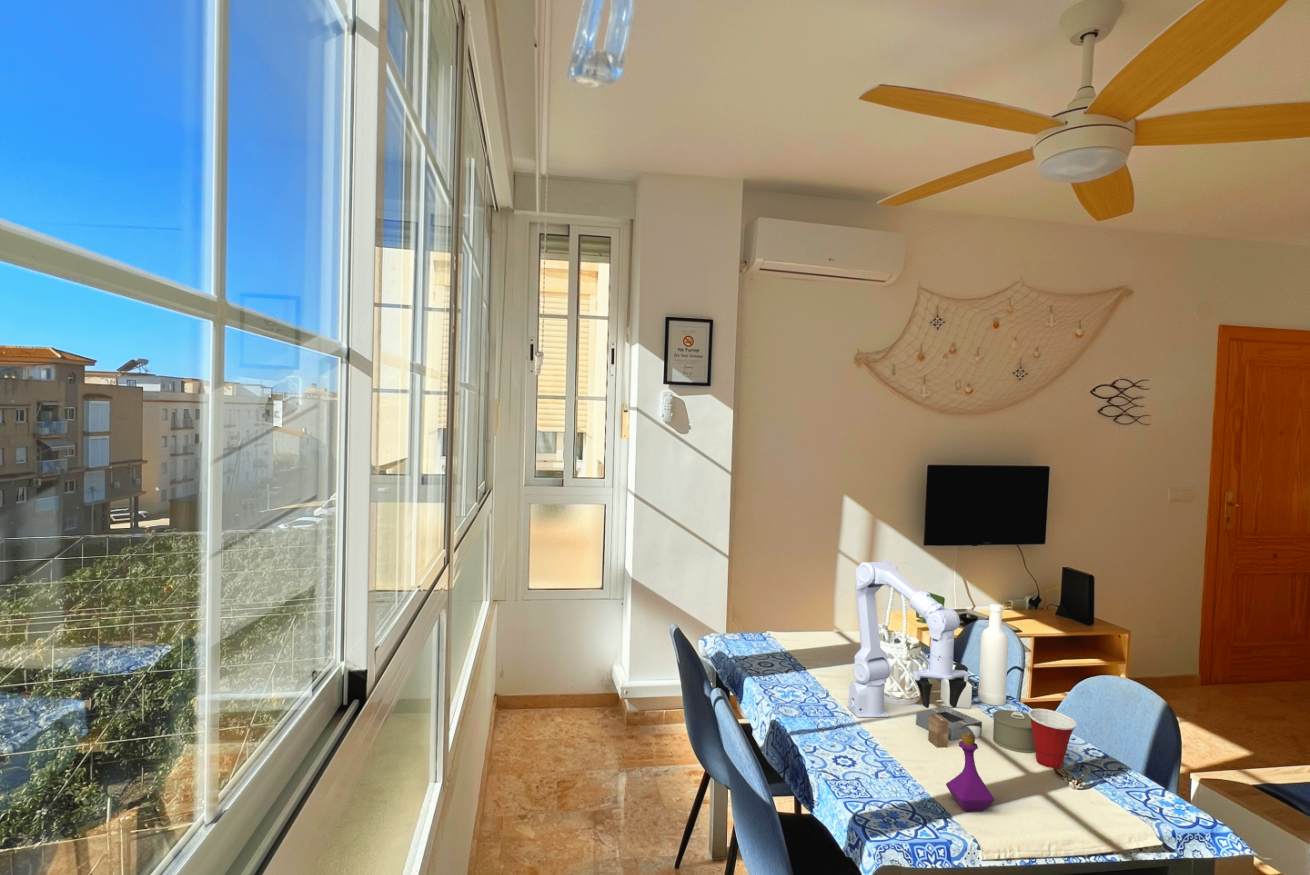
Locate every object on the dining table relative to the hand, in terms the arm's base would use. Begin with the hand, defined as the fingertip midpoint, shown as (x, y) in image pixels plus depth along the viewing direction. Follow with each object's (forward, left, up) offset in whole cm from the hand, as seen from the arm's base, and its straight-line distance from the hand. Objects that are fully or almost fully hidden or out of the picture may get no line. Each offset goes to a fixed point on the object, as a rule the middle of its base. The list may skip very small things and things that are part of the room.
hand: (939, 706), depth 197 cm
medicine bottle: (+21, +28, -10) cm, 36 cm away
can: (+22, -1, -10) cm, 24 cm away
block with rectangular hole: (+8, +9, -10) cm, 16 cm away
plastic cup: (+23, -13, -10) cm, 28 cm away
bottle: (+34, +30, -10) cm, 46 cm away
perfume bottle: (-10, -32, -10) cm, 35 cm away
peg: (0, 0, -10) cm, 10 cm away
